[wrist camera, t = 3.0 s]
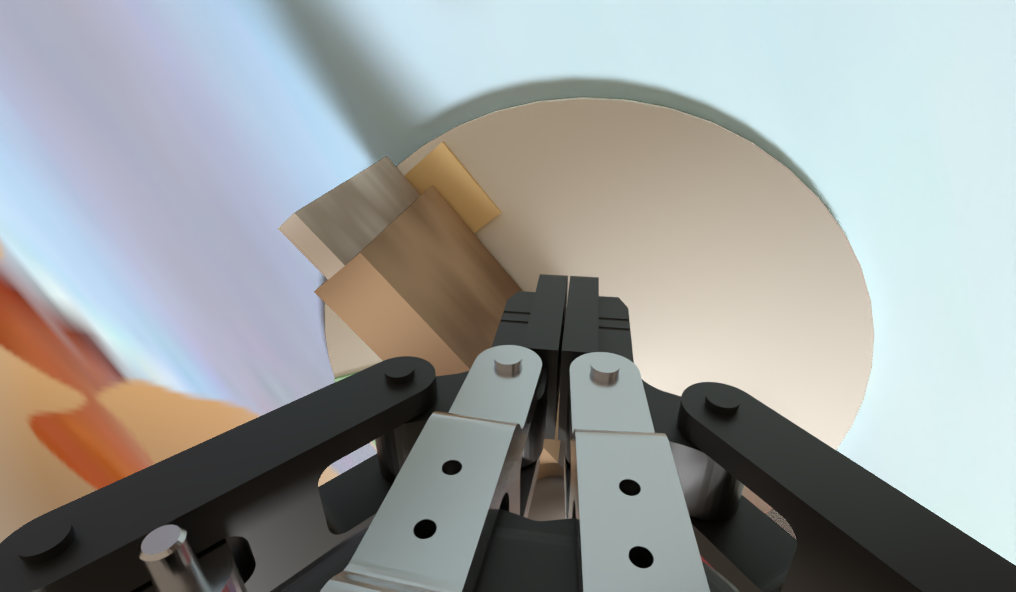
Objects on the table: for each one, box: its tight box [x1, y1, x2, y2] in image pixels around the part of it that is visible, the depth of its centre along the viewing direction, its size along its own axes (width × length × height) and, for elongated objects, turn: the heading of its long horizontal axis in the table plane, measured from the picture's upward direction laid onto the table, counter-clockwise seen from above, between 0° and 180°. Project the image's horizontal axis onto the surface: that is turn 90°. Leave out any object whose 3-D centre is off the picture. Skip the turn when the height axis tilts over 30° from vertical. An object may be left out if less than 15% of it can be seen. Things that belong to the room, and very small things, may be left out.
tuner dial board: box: [325, 97, 874, 514], centre depth 25 cm, size 25×25×1 cm
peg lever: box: [278, 156, 566, 521], centre depth 20 cm, size 15×4×8 cm, turn 41°
